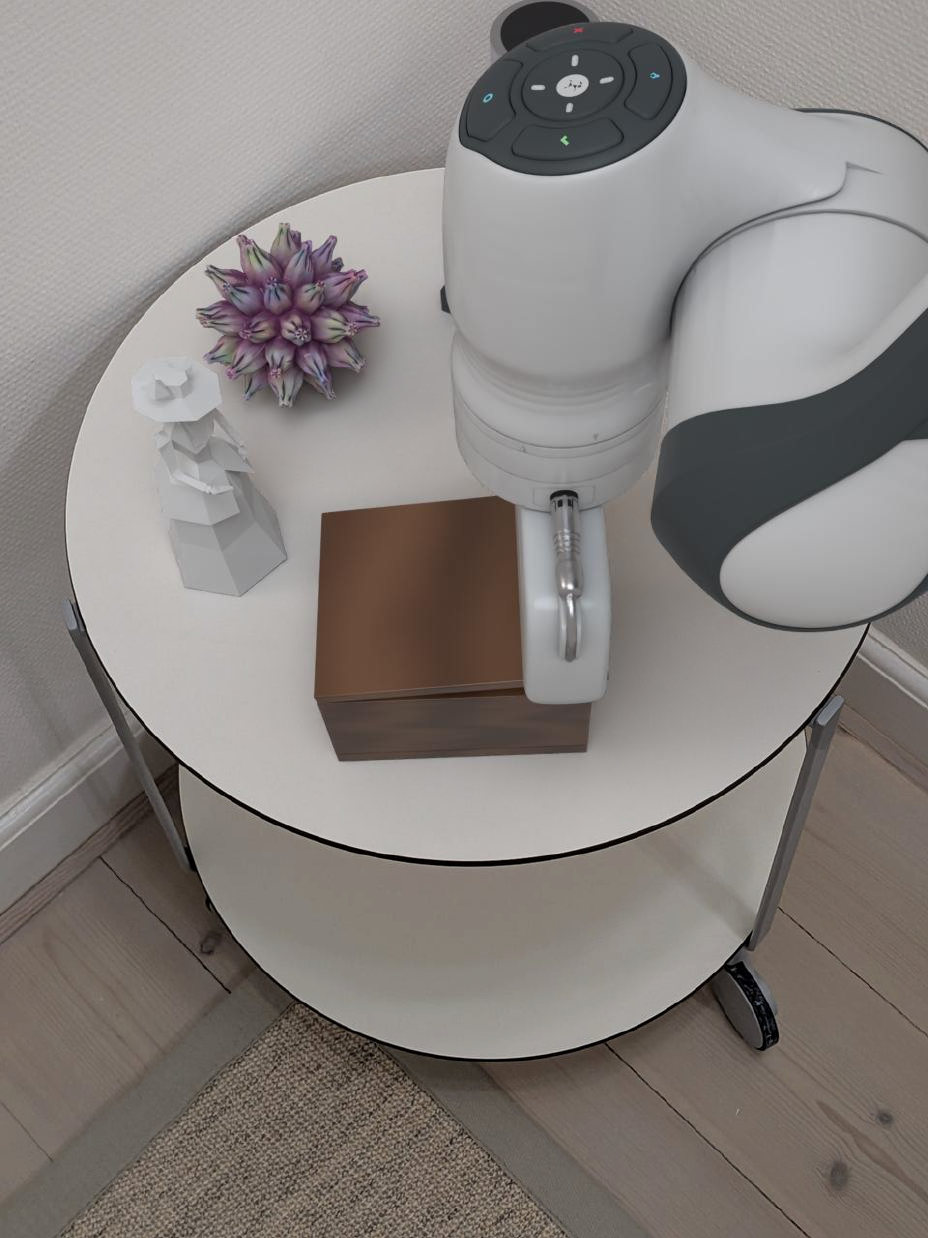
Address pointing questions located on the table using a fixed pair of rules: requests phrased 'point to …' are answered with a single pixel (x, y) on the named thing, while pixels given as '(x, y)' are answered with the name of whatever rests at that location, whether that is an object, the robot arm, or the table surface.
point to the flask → (533, 22)
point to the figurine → (205, 481)
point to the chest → (454, 726)
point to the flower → (286, 316)
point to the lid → (418, 600)
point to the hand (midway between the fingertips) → (550, 569)
